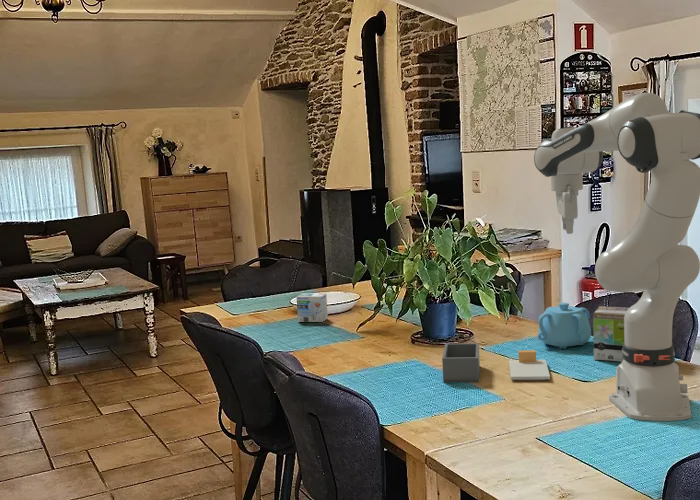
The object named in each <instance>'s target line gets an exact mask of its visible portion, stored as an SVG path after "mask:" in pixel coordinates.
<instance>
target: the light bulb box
mask: <svg viewBox="0 0 700 500" xmlns="http://www.w3.org/2000/svg"><path fill="white" fill-rule="evenodd" d="M327 302H328V299H327V293H326V292H324V293H321V292H319V293H315V292H313V293H310V292H309V293H306V292H304V293H300V294H299V295H296V309H297V323H298V322H323V321H325V320H326V319H328V320H329V315H328V314H329V313H328V303H327ZM326 321H327V320H326ZM326 321H325V322H326ZM323 323H324V322H323Z"/></svg>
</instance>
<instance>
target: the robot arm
mask: <svg viewBox="0 0 700 500" xmlns="http://www.w3.org/2000/svg"><path fill="white" fill-rule="evenodd" d="M617 151H618V152H619V154H620V155H621V157H622V158H623V159H624V160H625V162H627V163H628V164H629V165H631V166H633V167H635V169H636V170H637V172H639V173H642V174H645V173H646V174H647V173H649V172H650V174H651V175H650V176H651V179H650V180H651V182H650V185H649V187H648V190H647V193H646V195H645V199H644V201H643V204H642V207H641V208H640V209H641V210H640V212H639V214H638V217H637V220H636V221H635V223H634V225H633V226H632V228H631V229H630V230H629V231H628V232H627V233H626V234H625V235H624V237H623V238H621V240H620V241H619V242H617V243H616V244H615V245H614V246H612V247H611V248H609V249H607V250H605V251H604V252H601V253H600V255H599V256H598V258H597V259H596V262H595V266H594V274H595V278H596V280H597V282H598V284H599V286H601V288H603V289H604V290H606V291H611V292H617V293H618V292H619V293H631V292H632V293H633V292H642V295H641V297H640V298H639V299H638V301H637V302H636V303H634V304H633V305H631V306H630V307H628V308H629V309H628V310H627V311H626V313H625V316H624V343H623V348H622V353H623V361H622V362H620V363H619V364H618V366H616V372H615V373H616V374H615V375H616V376H615V378H616V380H615V392H614V393H611V394H609V396H608V400H609V401H611V402H612V404H613V405H615V406H616V407H617V408H618V409H619V410H620V411H621V412H623V413H624V415H626V416H627V417H628V418H630V419H634V420H642V421H652V422H653V421H654V422H655V421H656V422H667V421H668V422H669V421H673V422H674V421H683V420H688V419H691V418H692V413H691V412H692V411H691V404H690V399H689V395H688V391H689V390H688V384H687V383H680V381H684V375H683V374H679V373H680V370H679V369H680V366H679V365H678V364H676V363H675V361H676V360H675V359H676V358H675V357H676V356H675V354H676V352H675V351H676V350H675V349H674V348H675V347H674V345H673V321H674V319H673V318H674V315H675V313H674V312H675V309H676V306H677V304H678V302H679V300H680V298H681V297H682V295H683V293H684V292H685V290H686V289H687V288H688V287H689V286H690V285H691V284H692V283H694V282H695V281H696V280H697V278H698V276H699V273H700V257H699V255H698V254H697V252H696V251H695V250H694V249H693V248H692V247H691V246H689V245H686V244H680V243H682V241H683V240H684V239H685V237H686V236H687V233H688V230H689V228H690V226H691V223H692V220H693V218H694V215H695V212H696V210H697V207H698V204H699V201H700V166H699V164H697V163H696V162H694V161H693V160H697V159H700V113H698V112H691V111H687V110H684V109H682V110H680V111H679V112H671V111H669V109H668V106H667V104H666V102H665V101H664V99H663V98H662V97H660V96H659V95H658V94H655V93H654V92H642V93H639V94H636V95H633V96H631V97H629V98H626V99H624V100H623V101H621V102H620V103H618V104H617V105H615V106H614V107H613V108H611V109H609V110H608V111H606V112H604V113H603V114H601V115H599V116H598V117H596V118H593V119H591V120H590V121H588V122H586V123H583V124H582V125H579V126H578V127H575V126H568V127H560V128H557V129H555V130H554V131H553V132H552V134H551V139H544V140H543V141H541V143H540V144H538V146H537V147H536V149H535V152H534V155H533V160H534V161H533V162H534V165H535V168H536V169H537V171H539V172H540V173H541V174H542V175H543V176H544V177H547V178H549V177H550V186H551V187H550V189H551V191H552V192H555V199H556V206H557V211H558V214H559V215H561V221H562V229H563V230H564V231H565V232H566V234H567V235H569V234H570V235H572V234H573V233H574V225H575V219H577V218H578V215H579V213H578V212H579V211H578V210H579V209H578V208H579V207H578V196H579V191H581V190H583V189H584V186H583V185H584V183H583V182H584V179H583V176H584V174H588V173H592V172H596V171H597V170H598V169H599V168H600V167H601V165H602V162H603V159H604V158H603V157H604V156H603V153H604V152H617Z"/></svg>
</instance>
